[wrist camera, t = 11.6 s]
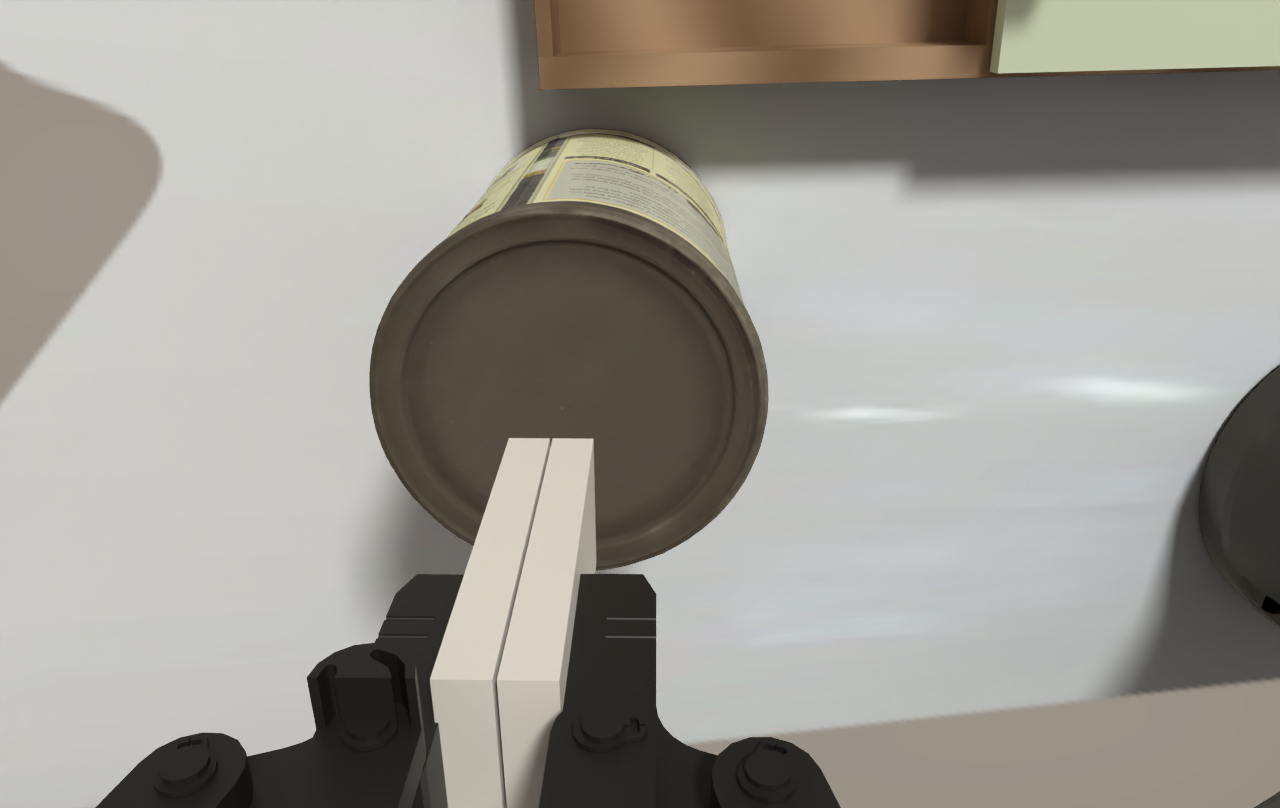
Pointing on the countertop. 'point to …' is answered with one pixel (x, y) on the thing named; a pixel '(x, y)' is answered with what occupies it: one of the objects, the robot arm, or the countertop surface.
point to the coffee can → (578, 345)
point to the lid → (1134, 35)
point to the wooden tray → (770, 42)
